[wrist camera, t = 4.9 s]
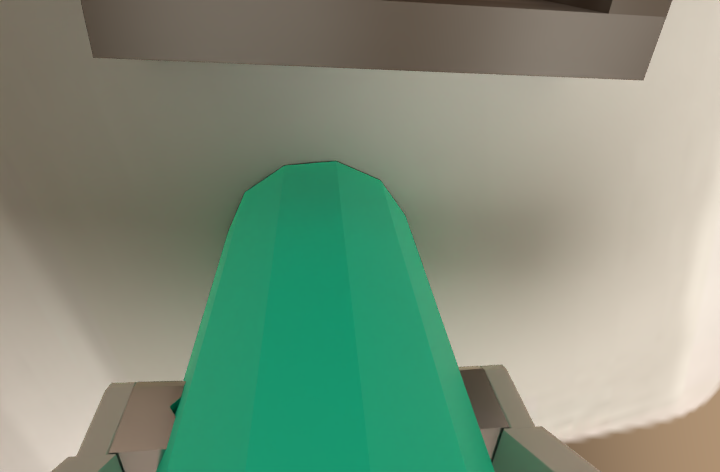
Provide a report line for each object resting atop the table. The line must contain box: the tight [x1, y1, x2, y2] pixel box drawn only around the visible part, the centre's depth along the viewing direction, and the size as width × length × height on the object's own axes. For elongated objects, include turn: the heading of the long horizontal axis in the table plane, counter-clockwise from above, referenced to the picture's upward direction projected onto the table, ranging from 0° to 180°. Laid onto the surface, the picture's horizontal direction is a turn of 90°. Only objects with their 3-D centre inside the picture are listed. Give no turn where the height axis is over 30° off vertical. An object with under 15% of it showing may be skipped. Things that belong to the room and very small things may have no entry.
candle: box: [156, 161, 495, 472], centre depth 11 cm, size 6×6×12 cm
